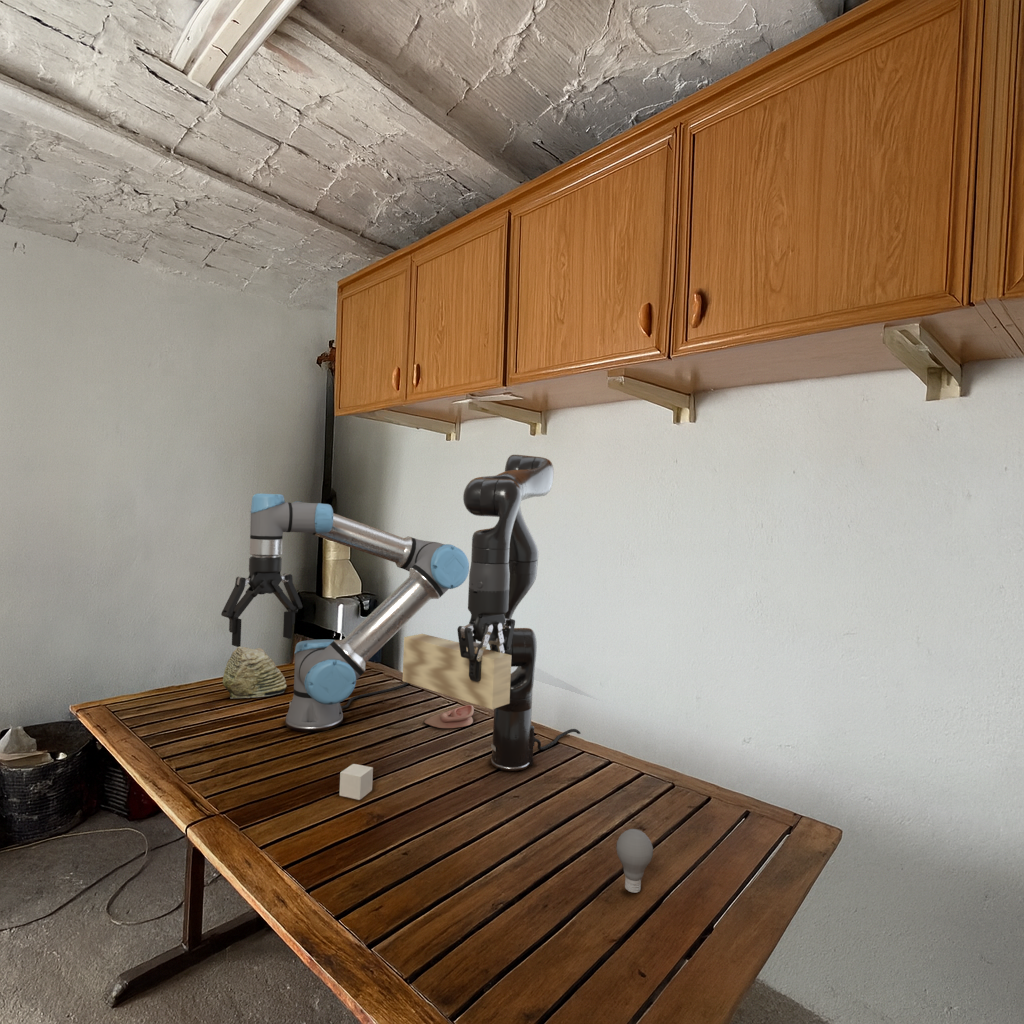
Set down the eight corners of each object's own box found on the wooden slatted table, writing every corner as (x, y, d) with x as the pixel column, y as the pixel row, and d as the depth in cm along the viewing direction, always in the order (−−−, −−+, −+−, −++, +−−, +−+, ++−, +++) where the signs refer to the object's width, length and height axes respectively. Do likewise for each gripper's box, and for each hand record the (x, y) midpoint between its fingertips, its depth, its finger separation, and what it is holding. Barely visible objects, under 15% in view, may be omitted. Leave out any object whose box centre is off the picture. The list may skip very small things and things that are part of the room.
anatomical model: (421, 711, 177) (434, 699, 188) (420, 725, 177) (433, 712, 188) (466, 717, 174) (477, 704, 186) (466, 731, 174) (476, 717, 186)
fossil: (218, 695, 195) (220, 647, 195) (278, 685, 208) (279, 640, 207) (228, 703, 189) (230, 653, 188) (289, 692, 201) (290, 645, 201)
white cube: (352, 785, 139) (353, 763, 139) (372, 790, 138) (373, 767, 138) (339, 795, 135) (340, 772, 135) (359, 800, 133) (360, 776, 133)
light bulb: (610, 879, 108) (613, 822, 108) (644, 879, 109) (647, 822, 109) (619, 902, 102) (622, 840, 102) (655, 901, 103) (658, 840, 103)
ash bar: (402, 681, 128) (404, 636, 128) (420, 676, 132) (422, 633, 132) (491, 709, 113) (494, 659, 113) (509, 703, 117) (511, 655, 117)
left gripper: (301, 552, 168) (298, 632, 169) (207, 556, 149) (204, 646, 149) (318, 555, 164) (315, 637, 164) (223, 559, 144) (220, 652, 145)
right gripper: (498, 581, 125) (495, 666, 125) (447, 587, 114) (443, 681, 114) (528, 585, 120) (524, 674, 121) (478, 592, 109) (474, 690, 110)
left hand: (262, 641), depth 157 cm, fingers open, 13 cm apart
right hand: (485, 677), depth 117 cm, fingers closed on ash bar, 5 cm apart
